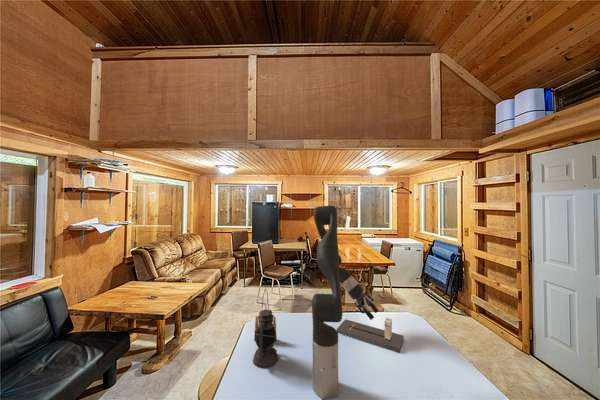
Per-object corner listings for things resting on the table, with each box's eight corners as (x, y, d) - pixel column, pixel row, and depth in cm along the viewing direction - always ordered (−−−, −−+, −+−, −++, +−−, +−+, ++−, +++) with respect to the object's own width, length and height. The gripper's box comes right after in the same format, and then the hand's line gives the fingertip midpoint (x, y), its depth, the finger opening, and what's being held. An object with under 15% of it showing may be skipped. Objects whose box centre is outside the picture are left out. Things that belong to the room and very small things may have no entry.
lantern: (272, 371, 91) (273, 295, 92) (247, 367, 93) (248, 293, 94) (281, 351, 103) (281, 284, 104) (259, 348, 106) (259, 283, 106)
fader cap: (384, 338, 110) (384, 321, 110) (386, 334, 113) (386, 317, 113) (390, 339, 108) (390, 322, 109) (391, 335, 112) (391, 319, 112)
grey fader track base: (336, 332, 119) (336, 328, 119) (345, 322, 129) (345, 319, 129) (399, 353, 103) (399, 348, 103) (403, 339, 113) (403, 335, 113)
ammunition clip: (276, 339, 113) (276, 315, 113) (276, 342, 111) (276, 316, 111) (255, 339, 114) (255, 314, 114) (254, 341, 112) (254, 316, 112)
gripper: (352, 287, 113) (376, 317, 107) (361, 279, 125) (383, 305, 119) (342, 295, 116) (365, 325, 110) (352, 287, 128) (373, 313, 122)
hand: (375, 315), depth 114 cm, fingers open, 8 cm apart
